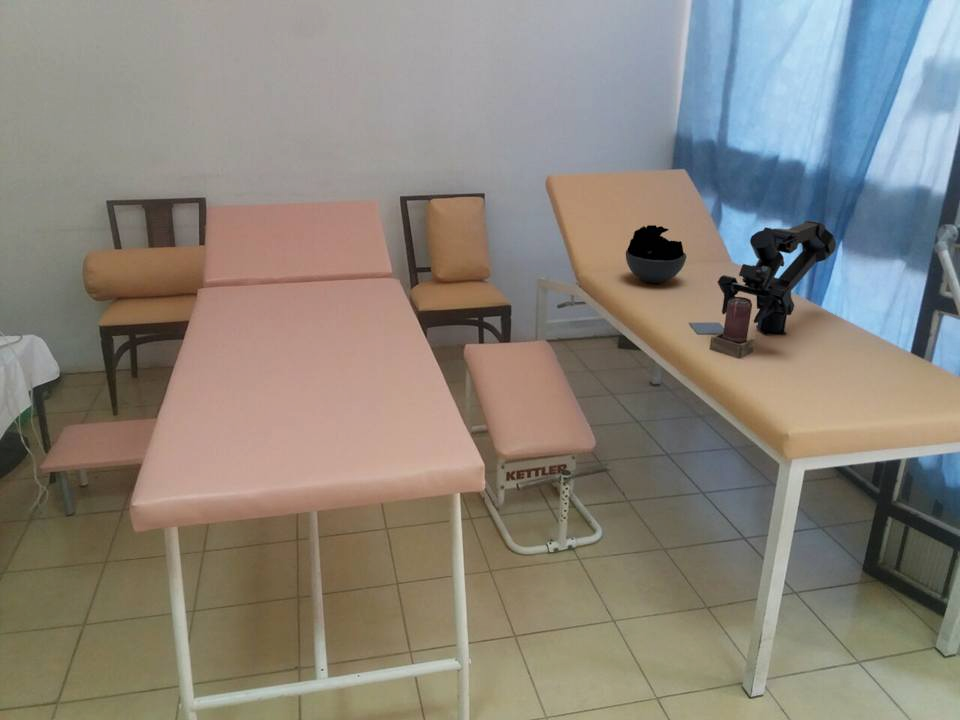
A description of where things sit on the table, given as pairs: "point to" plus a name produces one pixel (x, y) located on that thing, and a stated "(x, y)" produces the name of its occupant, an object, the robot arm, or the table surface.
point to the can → (737, 320)
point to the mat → (707, 328)
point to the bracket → (731, 346)
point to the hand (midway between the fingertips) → (738, 317)
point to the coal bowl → (654, 255)
